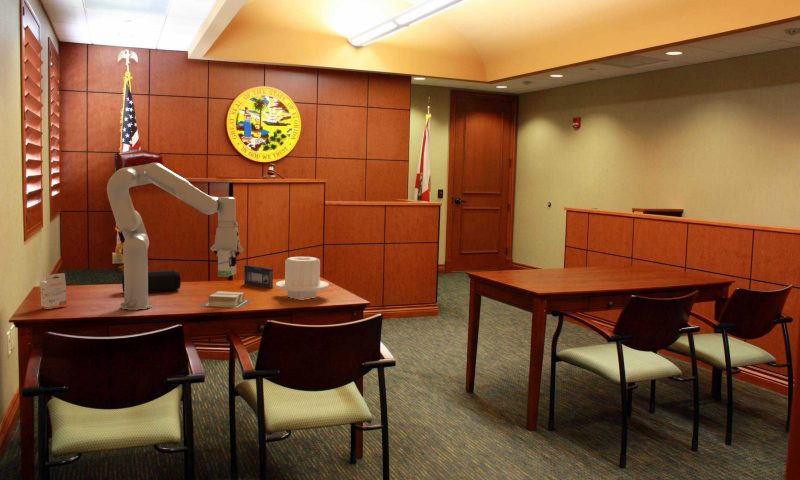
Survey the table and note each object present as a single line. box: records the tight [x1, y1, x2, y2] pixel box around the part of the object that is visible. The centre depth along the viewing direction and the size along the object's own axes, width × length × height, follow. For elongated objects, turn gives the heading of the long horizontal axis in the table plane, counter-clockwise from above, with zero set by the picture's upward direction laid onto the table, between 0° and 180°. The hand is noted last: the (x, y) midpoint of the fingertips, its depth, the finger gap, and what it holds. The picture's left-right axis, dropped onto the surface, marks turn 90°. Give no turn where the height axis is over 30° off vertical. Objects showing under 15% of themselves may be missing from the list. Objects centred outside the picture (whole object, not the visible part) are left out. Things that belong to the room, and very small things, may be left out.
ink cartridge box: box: [40, 272, 67, 307], centre depth 285 cm, size 9×5×15 cm, turn 148°
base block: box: [208, 290, 245, 307], centre depth 301 cm, size 12×12×4 cm
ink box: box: [217, 249, 237, 278], centre depth 299 cm, size 9×5×12 cm, turn 169°
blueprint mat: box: [200, 299, 253, 309], centre depth 301 cm, size 18×18×1 cm
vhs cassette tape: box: [243, 264, 274, 290], centre depth 348 cm, size 18×3×10 cm, turn 55°
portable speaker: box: [121, 269, 182, 293], centre depth 325 cm, size 26×10×10 cm, turn 119°
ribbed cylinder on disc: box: [275, 256, 330, 301], centre depth 322 cm, size 25×25×19 cm
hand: (227, 265), depth 299 cm, fingers closed on ink box, 5 cm apart
